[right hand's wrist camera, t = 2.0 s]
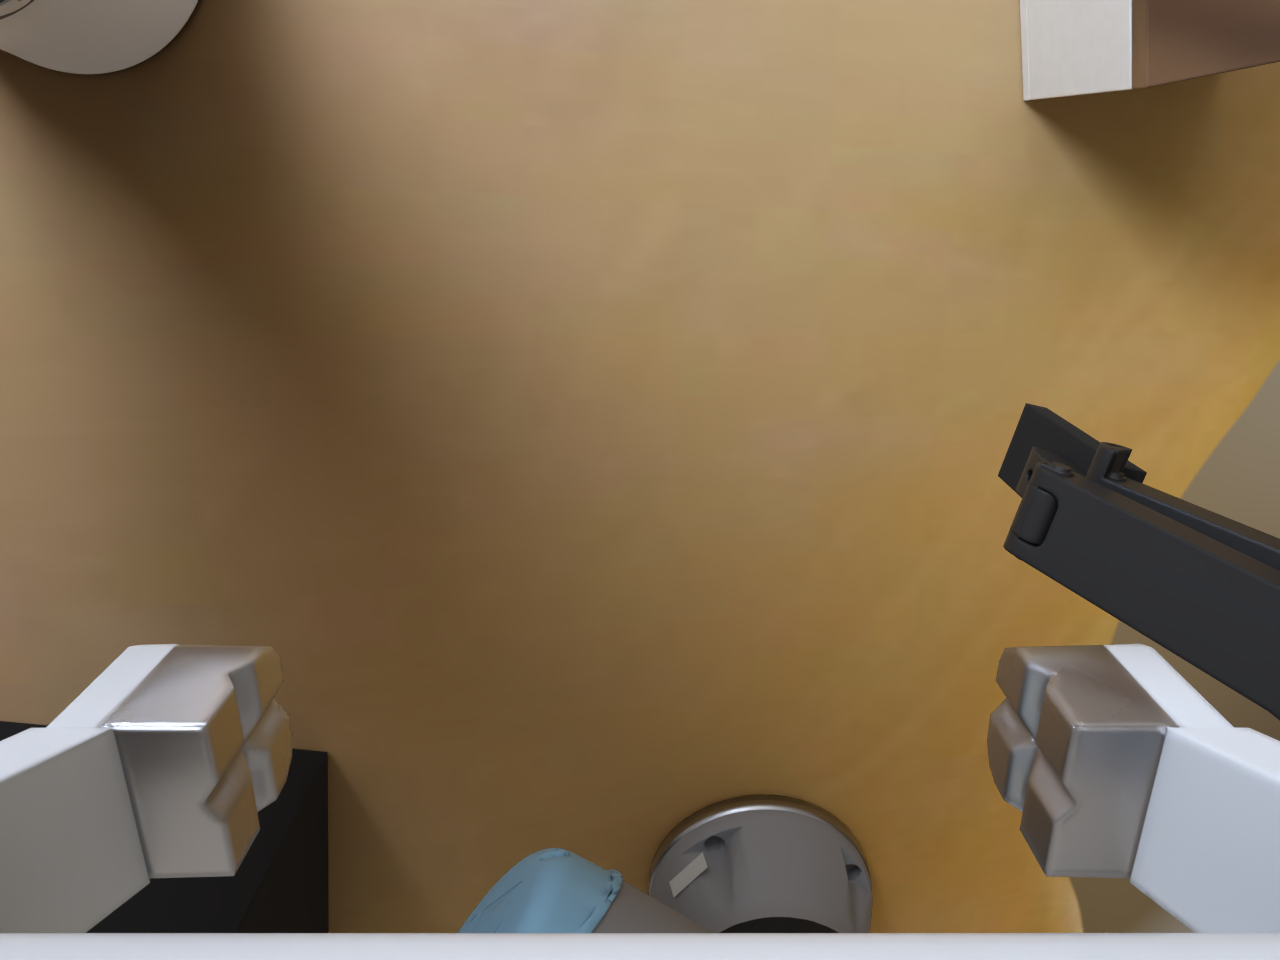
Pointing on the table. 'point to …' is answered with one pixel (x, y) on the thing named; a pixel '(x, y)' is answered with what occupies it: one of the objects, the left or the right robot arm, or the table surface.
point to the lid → (1201, 38)
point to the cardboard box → (246, 870)
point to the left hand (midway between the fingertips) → (1202, 482)
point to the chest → (1075, 47)
